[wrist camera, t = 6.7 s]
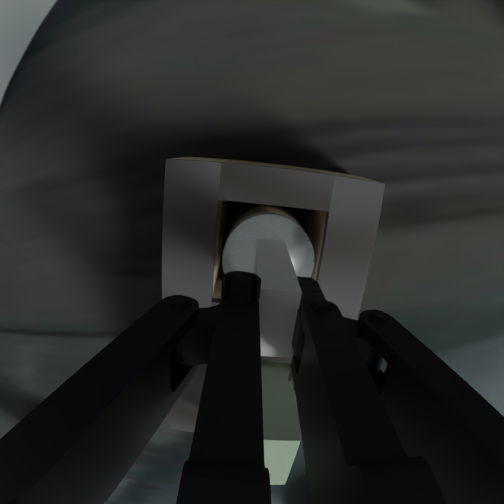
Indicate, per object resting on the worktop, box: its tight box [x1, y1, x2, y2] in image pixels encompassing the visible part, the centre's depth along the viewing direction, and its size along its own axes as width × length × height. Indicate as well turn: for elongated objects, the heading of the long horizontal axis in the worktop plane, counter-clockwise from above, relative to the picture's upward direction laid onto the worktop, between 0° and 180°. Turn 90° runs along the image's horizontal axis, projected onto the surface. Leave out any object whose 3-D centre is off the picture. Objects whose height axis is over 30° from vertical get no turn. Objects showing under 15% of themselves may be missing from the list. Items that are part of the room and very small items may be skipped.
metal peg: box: [222, 203, 315, 277], centre depth 21 cm, size 5×5×7 cm
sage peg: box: [261, 362, 300, 485], centre depth 18 cm, size 5×5×7 cm
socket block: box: [162, 157, 385, 440], centre depth 23 cm, size 20×12×7 cm, turn 174°
